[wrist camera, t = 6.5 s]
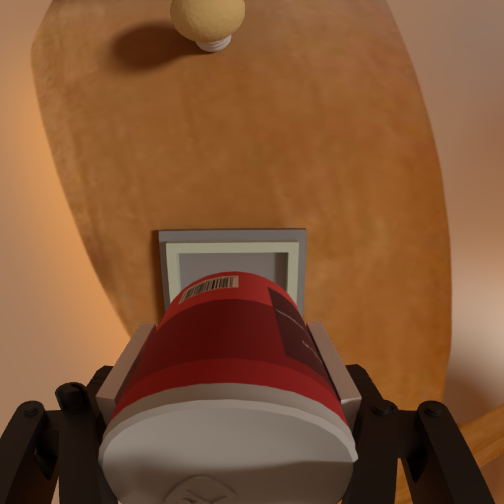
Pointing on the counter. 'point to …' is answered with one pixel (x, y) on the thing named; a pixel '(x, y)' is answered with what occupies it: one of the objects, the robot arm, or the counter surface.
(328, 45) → the counter surface
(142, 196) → the counter surface
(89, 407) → the robot arm
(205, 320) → the canned food
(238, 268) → the coaster
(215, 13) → the light bulb
